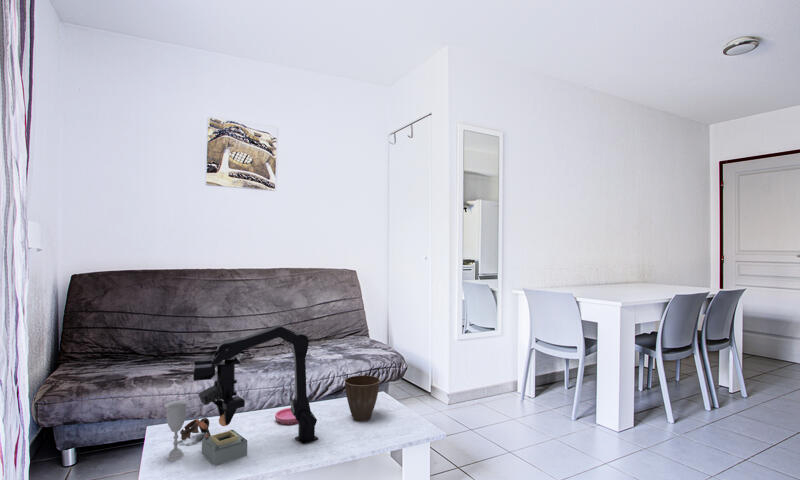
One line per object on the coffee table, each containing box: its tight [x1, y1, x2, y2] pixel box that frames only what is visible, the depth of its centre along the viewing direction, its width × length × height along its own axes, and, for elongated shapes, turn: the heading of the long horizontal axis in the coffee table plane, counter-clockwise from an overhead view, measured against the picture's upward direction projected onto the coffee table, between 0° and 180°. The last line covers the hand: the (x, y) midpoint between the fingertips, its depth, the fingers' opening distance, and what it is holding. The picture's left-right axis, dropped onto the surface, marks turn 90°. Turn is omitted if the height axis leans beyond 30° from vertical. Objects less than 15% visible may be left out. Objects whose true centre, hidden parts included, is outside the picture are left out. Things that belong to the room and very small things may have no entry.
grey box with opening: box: [201, 429, 248, 467], centre depth 148 cm, size 12×11×6 cm
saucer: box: [274, 407, 299, 425], centre depth 178 cm, size 12×12×3 cm
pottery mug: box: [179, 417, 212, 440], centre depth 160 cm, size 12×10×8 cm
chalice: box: [164, 399, 189, 462], centre depth 146 cm, size 7×7×18 cm
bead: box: [218, 414, 228, 427], centre depth 148 cm, size 4×4×4 cm
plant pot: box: [344, 374, 381, 422], centre depth 181 cm, size 15×15×16 cm
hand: (225, 422), depth 148 cm, fingers closed on bead, 4 cm apart
